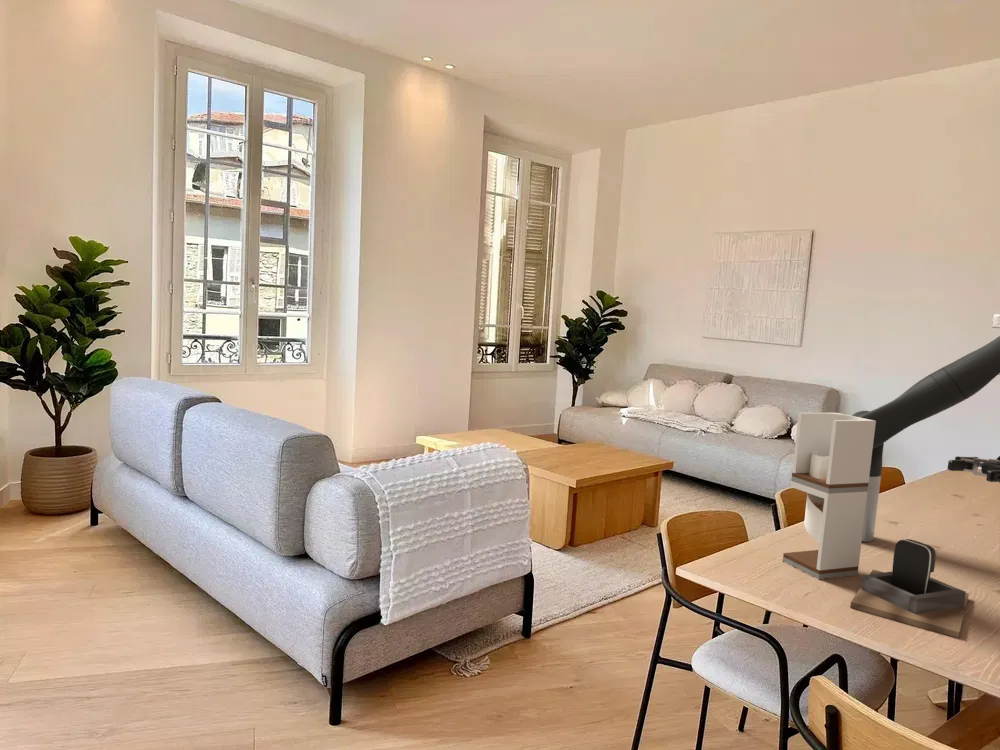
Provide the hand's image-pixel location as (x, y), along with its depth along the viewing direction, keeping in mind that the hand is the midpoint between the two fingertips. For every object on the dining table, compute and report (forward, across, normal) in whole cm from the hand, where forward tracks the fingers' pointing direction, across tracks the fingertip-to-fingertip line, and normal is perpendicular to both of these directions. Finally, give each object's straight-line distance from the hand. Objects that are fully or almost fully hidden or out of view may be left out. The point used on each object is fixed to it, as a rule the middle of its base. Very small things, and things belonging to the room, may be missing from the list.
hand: (968, 470), depth 142 cm
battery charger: (+10, 0, +26) cm, 28 cm away
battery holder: (+11, 0, +28) cm, 30 cm away
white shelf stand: (+16, -19, +28) cm, 37 cm away
